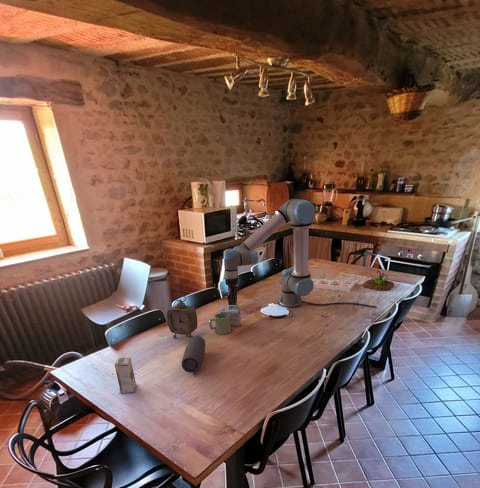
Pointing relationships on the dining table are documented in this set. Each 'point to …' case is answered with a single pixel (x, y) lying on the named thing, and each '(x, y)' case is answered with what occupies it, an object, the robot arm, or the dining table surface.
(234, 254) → the robot arm
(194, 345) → the bluetooth speaker
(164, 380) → the dining table surface
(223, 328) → the mug
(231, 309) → the light bulb box
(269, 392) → the dining table surface
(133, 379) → the syrup box
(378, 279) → the plant
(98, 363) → the dining table surface
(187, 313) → the tabletop clock
